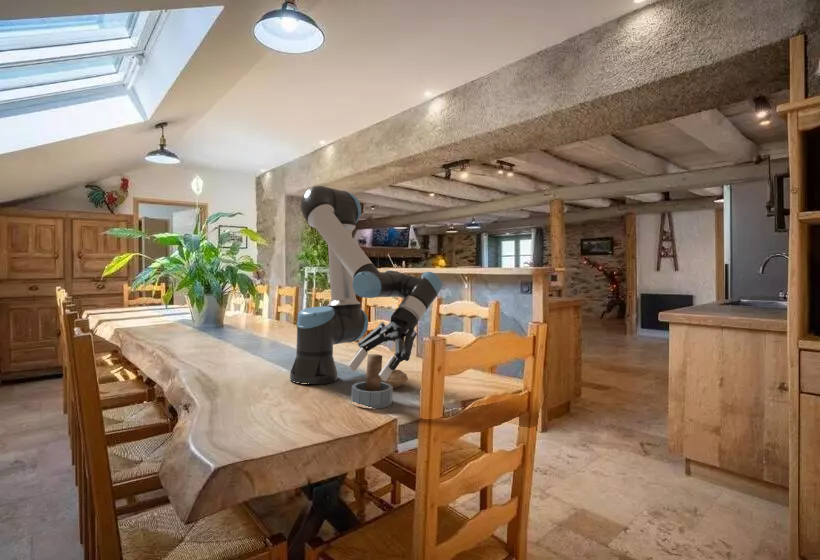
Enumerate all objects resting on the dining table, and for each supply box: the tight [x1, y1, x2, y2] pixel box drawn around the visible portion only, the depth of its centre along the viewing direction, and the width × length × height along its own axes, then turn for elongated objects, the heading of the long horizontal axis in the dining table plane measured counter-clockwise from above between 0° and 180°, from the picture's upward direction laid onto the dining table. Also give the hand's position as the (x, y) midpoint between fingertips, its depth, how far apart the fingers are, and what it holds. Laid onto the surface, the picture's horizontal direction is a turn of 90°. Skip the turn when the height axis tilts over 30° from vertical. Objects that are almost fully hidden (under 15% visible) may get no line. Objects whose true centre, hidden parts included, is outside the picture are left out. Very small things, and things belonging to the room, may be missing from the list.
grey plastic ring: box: [350, 381, 394, 410], centre depth 119 cm, size 11×11×4 cm
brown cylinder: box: [365, 353, 383, 391], centre depth 119 cm, size 4×4×12 cm
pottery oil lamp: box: [381, 369, 409, 389], centre depth 138 cm, size 9×12×7 cm
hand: (365, 373), depth 117 cm, fingers open, 12 cm apart
